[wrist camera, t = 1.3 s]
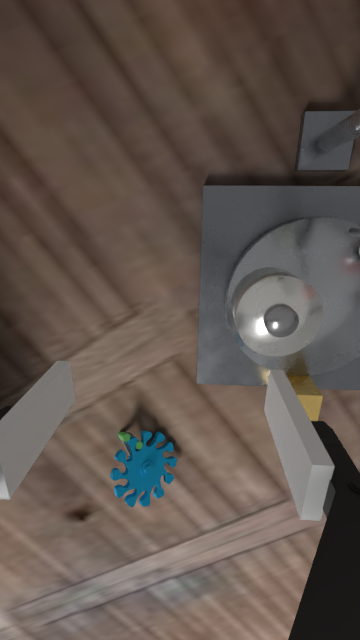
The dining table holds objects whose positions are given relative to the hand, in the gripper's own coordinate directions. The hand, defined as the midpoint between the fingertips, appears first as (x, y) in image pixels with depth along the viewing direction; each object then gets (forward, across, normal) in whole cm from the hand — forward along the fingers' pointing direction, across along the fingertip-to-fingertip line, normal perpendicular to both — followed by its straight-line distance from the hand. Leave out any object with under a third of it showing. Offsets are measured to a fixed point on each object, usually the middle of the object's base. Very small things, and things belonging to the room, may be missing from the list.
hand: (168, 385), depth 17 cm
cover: (+17, +9, 0) cm, 19 cm away
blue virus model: (+20, -5, -24) cm, 32 cm away
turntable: (+19, +14, -2) cm, 23 cm away
